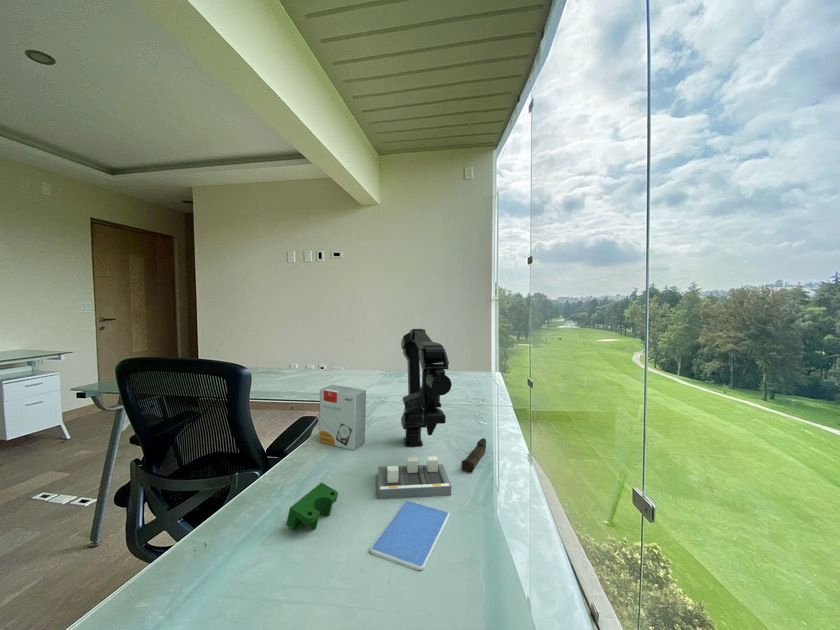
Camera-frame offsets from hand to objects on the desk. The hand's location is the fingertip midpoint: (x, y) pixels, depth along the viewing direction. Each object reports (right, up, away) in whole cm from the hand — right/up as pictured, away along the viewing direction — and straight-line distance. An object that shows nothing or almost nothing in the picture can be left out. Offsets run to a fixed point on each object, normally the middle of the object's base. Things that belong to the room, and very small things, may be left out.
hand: (429, 434), depth 103 cm
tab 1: (-11, -9, -9) cm, 17 cm away
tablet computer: (-5, -14, -25) cm, 29 cm away
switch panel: (-5, -12, -6) cm, 15 cm away
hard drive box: (-32, -10, +19) cm, 38 cm away
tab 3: (+1, -9, -3) cm, 10 cm away
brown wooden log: (+16, -12, +10) cm, 22 cm away
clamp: (-29, -13, -22) cm, 38 cm away
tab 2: (-5, -9, -4) cm, 11 cm away
